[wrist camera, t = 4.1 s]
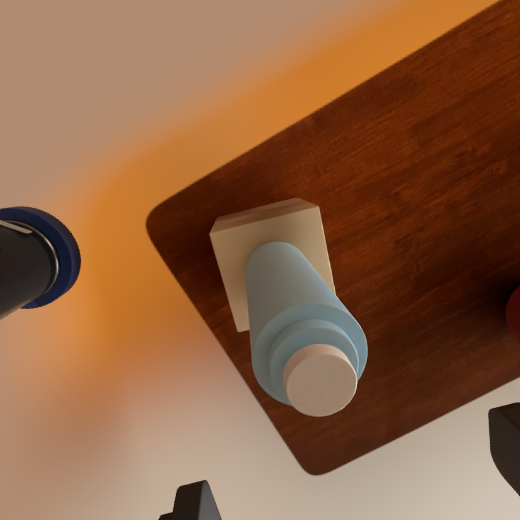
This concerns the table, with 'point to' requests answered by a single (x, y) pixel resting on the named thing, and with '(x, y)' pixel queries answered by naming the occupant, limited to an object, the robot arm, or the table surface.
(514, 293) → the apple
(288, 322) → the bottle
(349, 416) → the table surface
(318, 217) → the cube
